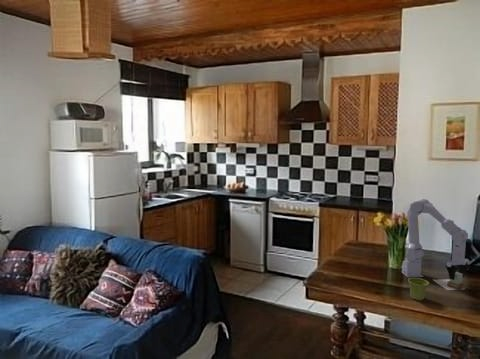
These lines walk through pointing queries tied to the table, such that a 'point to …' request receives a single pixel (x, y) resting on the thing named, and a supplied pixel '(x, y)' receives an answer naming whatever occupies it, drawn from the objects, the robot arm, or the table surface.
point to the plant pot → (418, 288)
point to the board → (445, 284)
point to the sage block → (457, 278)
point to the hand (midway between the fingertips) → (456, 278)
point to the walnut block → (456, 285)
